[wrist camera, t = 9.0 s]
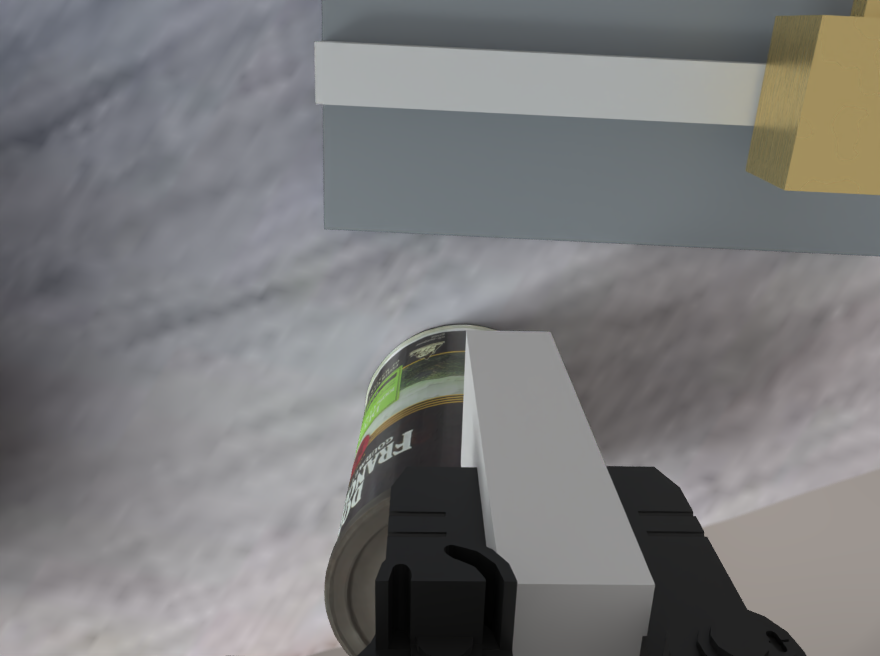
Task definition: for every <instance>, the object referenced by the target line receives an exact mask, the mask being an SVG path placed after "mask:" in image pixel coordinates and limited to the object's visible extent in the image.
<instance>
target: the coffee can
mask: <svg viewBox="0 0 880 656" xmlns="http://www.w3.org/2000/svg"><path fill="white" fill-rule="evenodd" d="M466 330H481V331H497V330H494V329H489V328H486V327H482V326H474V325H449V326H442V327H438V328H434V329H430V330H427V331H424V332H421V333H419V334H417V335H415V336H413V337H411V338H410V339H408V340H406V341H404V342H403V343H402V344H400V345H399V346H398V347H396V348H395V349H394V350H393V351H392V352H391V353H390V354H389V355H388V356H387V357H386V358H385V359H384V360H383V362H382V363H381V364H380V366H379V367H378V369H377V370H376V372H375V374H374V375H373V377H372V379H371V382H370V385H369V388H368V391H367V396H366V402H365V412H364V417H363V422H362V427H361V431H360V437H359V441H358V446H357V450H356V455H355V459H354V464H353V469H352V474H351V478H350V482H349V487H348V492H347V496H346V500H345V505H344V510H343V515H342V520H341V524H340V528H339V534H338V539H337V542H336V544H335V546H334V548H333V551H332V554H331V557H330V560H329V564H328V567H327V571H326V577H325V591H324V595H325V606H326V612H327V615H328V619H329V622H330V625H331V628H332V630H333V632H334V635H335V637H336V638H337V640H338V641H339V643H340V644H341V646H342V647H343V649H344V650H345V651H346V653H347V654H348V655H349V656H357V655H358V654H359V653H360V652H361V651H362V650H364V649H365V648H366V647H367V646H368V645H369V644H370V642H371V641H372V639H373V637H374V636H375V634H376V633H375V580H376V577H377V574H378V572H379V569H380V566H381V564H382V562H383V561H384V560H386V549H387V537H388V521H389V508H390V494H391V486H392V485H393V484H394V483H395V481H396V480H397V479H398V478H399V476H400V475H401V474H402V472H403V471H404V470H405V469H406V467H461V446H462V422H463V397H464V373H465V348H466Z"/></svg>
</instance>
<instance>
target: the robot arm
mask: <svg viewBox="0 0 880 656" xmlns="http://www.w3.org/2000/svg"><path fill="white" fill-rule="evenodd" d="M375 633H376V634H375V636H374V637H373V639H372V641H371V642H370V644H369V645H368V646H367V647H366V648H365V649H364V650H362V651H361V652H360V653H359V654H358V655H357V656H806V654H805V652H804V651H803V650H802V649H801V647H800V646H799V645H798V644H797V643H796V642H795V640H794V639H793V638H792V637H791V636H790V635H789V633H788V632H787V631H785V630H784V629H782V628H780V627H779V626H778V625H776V624H775V623H773V622H772V621H770V620H769V619H768V618H766V617H765V616H762V615H760V614H757V613H754V612H752V611H749V610H747V608H746V606H745V605H744V603H743V601H742V599H741V597H740V596H739V594H738V592H737V590H736V588H735V587H734V585H733V583H732V581H731V579H730V577H729V576H728V574H727V572H726V570H725V568H724V567H723V565H722V563H721V561H720V559H719V558H718V556H717V554H716V552H715V551H714V549H713V547H712V545H711V543H710V541H709V540H708V538H707V537H704V531H703V529H702V527H701V525H700V523H699V521H698V520H697V518H696V516H693V511H692V509H691V507H690V505H689V503H688V502H687V500H686V498H685V496H684V494H683V493H682V491H681V489H680V487H678V486H677V485H676V484H675V483H673V482H672V481H671V480H670V479H668V478H667V477H666V476H665V475H664V474H662V473H661V472H660V471H659V470H657V469H656V468H655V467H624V466H606V465H605V462H604V460H603V458H602V455H601V453H600V450H599V448H598V445H597V443H596V441H595V438H594V436H593V433H592V431H591V428H590V426H589V424H588V421H587V419H586V416H585V414H584V411H583V409H582V407H581V404H580V402H579V399H578V397H577V395H576V392H575V390H574V387H573V385H572V382H571V380H570V378H569V375H568V373H567V370H566V368H565V365H564V363H563V361H562V358H561V356H560V353H559V351H558V349H557V346H556V344H555V341H554V339H553V336H552V334H551V332H543V331H481V330H466V348H465V373H464V397H463V422H462V446H461V467H406V469H405V470H404V471H403V472H402V474H401V475H400V476H399V478H398V479H397V480H396V481H395V483H394V484H393V485H392V486H391V494H390V508H389V521H388V537H387V549H386V560H384V561H383V562H382V564H381V566H380V569H379V572H378V574H377V577H376V580H375Z"/></svg>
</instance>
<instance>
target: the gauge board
mask: <svg viewBox="0 0 880 656" xmlns="http://www.w3.org/2000/svg"><path fill="white" fill-rule="evenodd" d="M853 1H854V0H322V41H316V42H314V53H315V104H323V171H324V229H330V230H351V231H371V232H392V233H412V234H433V235H453V236H474V237H494V238H515V239H535V240H556V241H576V242H596V243H617V244H637V245H658V246H678V247H699V248H719V249H740V250H760V251H781V252H801V253H822V254H842V255H862V256H880V195H866V194H846V193H826V192H806V191H785V190H782V189H780V188H778V187H777V186H775V185H773V184H771V183H769V182H767V181H765V180H763V179H761V178H759V177H757V176H755V175H753V174H751V173H749V172H747V171H745V170H746V165H747V159H748V154H749V149H750V144H751V139H752V134H753V129H754V124H755V119H756V114H757V109H758V103H759V98H760V93H761V88H762V83H763V78H764V73H765V68H766V63H767V58H768V53H769V47H770V42H771V37H772V32H773V27H774V22H775V17H776V16H795V15H834V16H850V14H851V9H852V5H853Z"/></svg>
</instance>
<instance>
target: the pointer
mask: <svg viewBox="0 0 880 656" xmlns="http://www.w3.org/2000/svg"><path fill="white" fill-rule="evenodd" d="M745 171H747V172H749V173H751V174H753V175H755V176H757V177H759V178H761V179H763V180H765V181H767V182H769V183H771V184H773V185H775V186H777V187H778V188H780V189H782V190H785V191H806V192H826V193H846V194H866V195H880V0H854V1H853V5H852V9H851V14H850V16H834V15H795V16H776V17H775V22H774V27H773V32H772V37H771V42H770V47H769V53H768V58H767V63H766V68H765V73H764V78H763V83H762V88H761V93H760V98H759V103H758V109H757V114H756V119H755V124H754V129H753V134H752V139H751V144H750V149H749V154H748V159H747V165H746V170H745Z"/></svg>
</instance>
